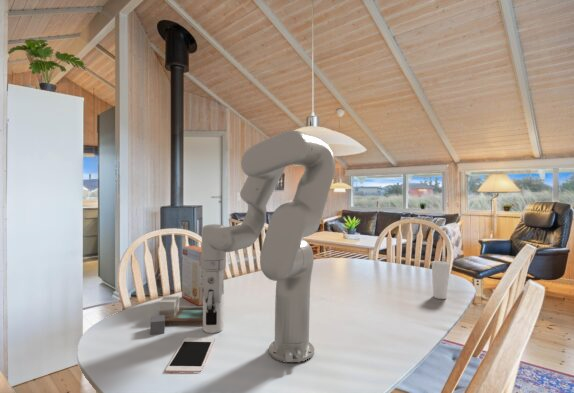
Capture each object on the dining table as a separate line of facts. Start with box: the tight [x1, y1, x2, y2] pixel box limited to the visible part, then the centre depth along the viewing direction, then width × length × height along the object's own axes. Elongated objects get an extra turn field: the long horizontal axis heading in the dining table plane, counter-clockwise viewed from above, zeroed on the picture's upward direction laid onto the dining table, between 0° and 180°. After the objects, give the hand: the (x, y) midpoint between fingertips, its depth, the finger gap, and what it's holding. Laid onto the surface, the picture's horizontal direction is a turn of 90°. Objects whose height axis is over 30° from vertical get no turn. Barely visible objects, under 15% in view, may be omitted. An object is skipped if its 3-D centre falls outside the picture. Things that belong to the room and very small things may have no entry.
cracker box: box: [181, 245, 205, 306], centre depth 134 cm, size 14×6×21 cm, turn 43°
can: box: [202, 292, 225, 334], centre depth 107 cm, size 6×6×12 cm
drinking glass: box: [431, 260, 450, 300], centre depth 143 cm, size 7×7×15 cm
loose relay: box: [149, 315, 166, 336], centre depth 106 cm, size 5×4×4 cm
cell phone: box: [165, 337, 216, 374], centre depth 92 cm, size 9×18×1 cm, turn 1°
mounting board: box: [158, 295, 203, 326], centre depth 116 cm, size 12×20×6 cm, turn 93°
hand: (213, 319), depth 107 cm, fingers closed on can, 6 cm apart
